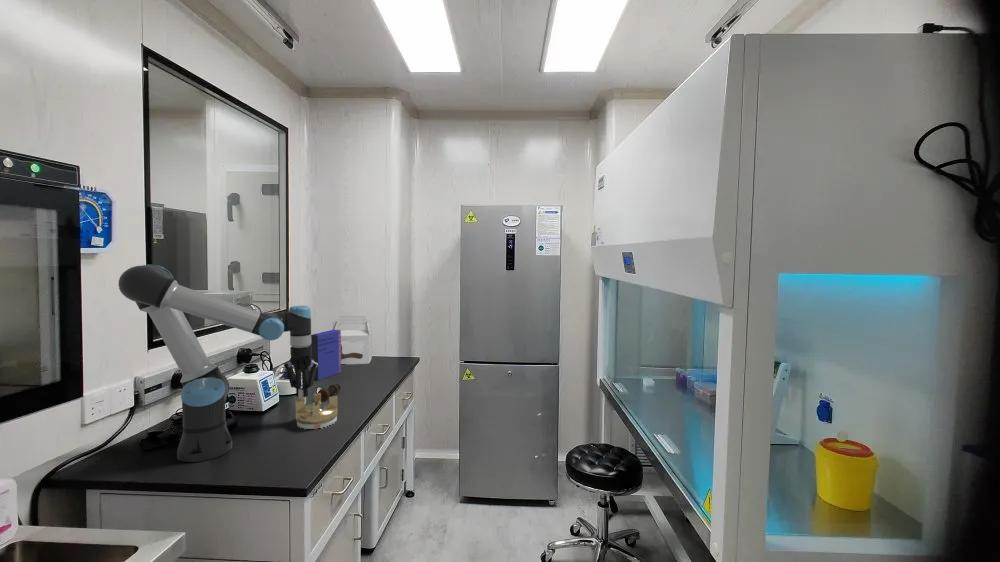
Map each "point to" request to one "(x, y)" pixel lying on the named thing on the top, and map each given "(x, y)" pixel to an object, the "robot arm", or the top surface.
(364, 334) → the gable box
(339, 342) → the cereal box
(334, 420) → the mounting flange
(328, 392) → the bolt
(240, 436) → the top surface
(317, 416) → the ring nut
